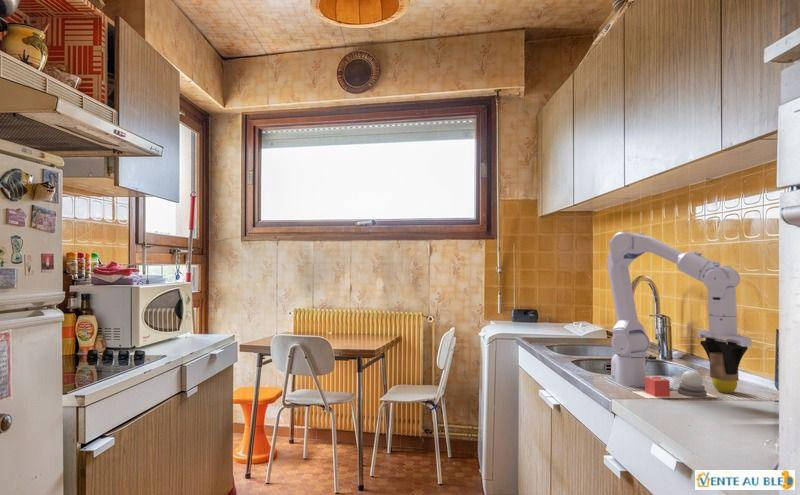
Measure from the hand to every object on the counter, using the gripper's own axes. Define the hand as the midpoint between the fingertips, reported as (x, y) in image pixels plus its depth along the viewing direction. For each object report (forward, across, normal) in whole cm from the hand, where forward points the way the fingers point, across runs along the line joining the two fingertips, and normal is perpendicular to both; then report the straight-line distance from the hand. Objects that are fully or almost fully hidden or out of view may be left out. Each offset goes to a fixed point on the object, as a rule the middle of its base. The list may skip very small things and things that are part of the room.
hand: (723, 372), depth 112 cm
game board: (+9, -4, -6) cm, 11 cm away
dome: (+6, -9, -1) cm, 11 cm away
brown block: (+2, 0, 0) cm, 2 cm away
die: (+8, -9, -11) cm, 16 cm away
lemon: (+9, -11, +9) cm, 17 cm away
